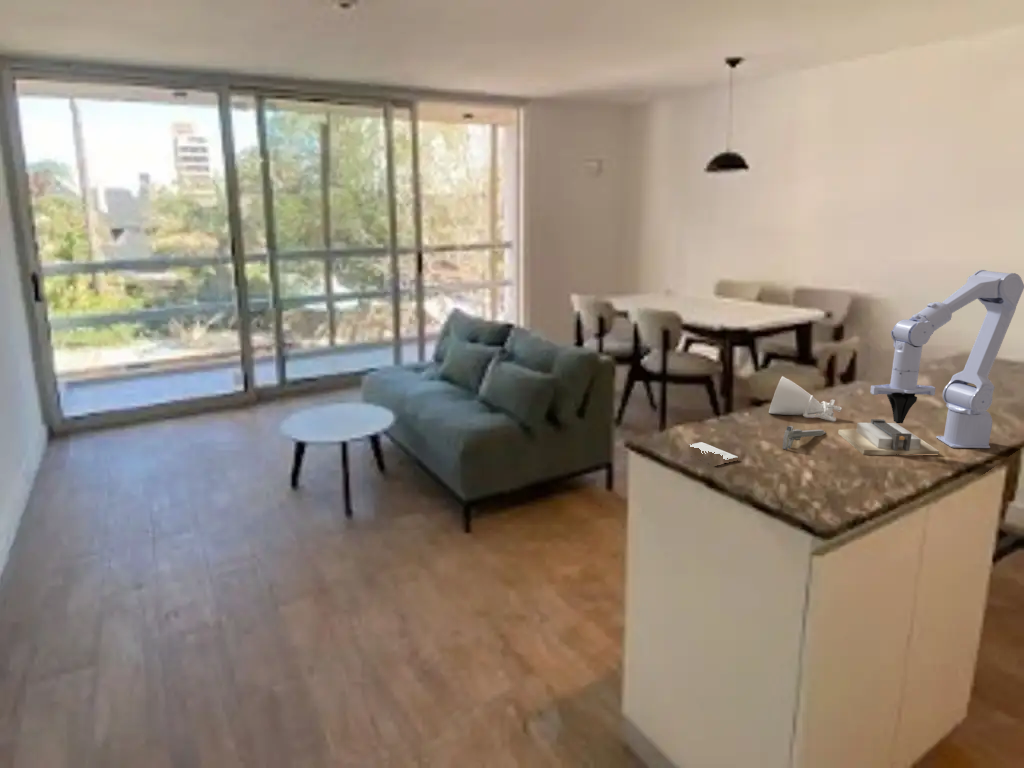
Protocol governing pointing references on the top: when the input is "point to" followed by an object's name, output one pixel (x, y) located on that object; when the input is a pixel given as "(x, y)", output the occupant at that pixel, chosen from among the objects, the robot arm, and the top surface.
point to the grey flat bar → (888, 429)
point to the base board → (881, 451)
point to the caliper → (798, 435)
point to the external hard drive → (713, 450)
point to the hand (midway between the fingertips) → (898, 422)
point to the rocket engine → (800, 402)
